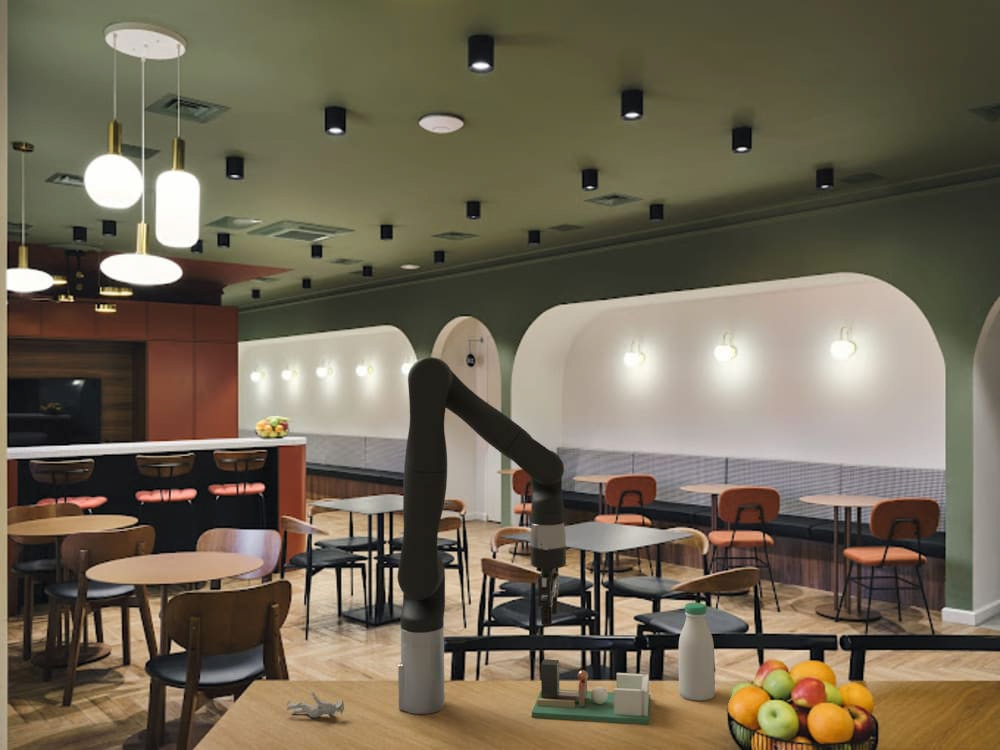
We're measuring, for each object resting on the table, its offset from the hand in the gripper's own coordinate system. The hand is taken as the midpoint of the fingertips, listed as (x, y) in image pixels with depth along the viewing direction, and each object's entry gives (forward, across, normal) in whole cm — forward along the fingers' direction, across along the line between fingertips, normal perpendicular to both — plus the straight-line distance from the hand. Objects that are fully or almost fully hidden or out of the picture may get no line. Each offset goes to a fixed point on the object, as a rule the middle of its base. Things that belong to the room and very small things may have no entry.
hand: (549, 619), depth 188 cm
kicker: (+17, 0, +3) cm, 18 cm away
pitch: (+19, 0, +9) cm, 21 cm away
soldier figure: (+19, +14, -48) cm, 53 cm away
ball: (+16, 0, +10) cm, 19 cm away
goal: (+18, 0, +17) cm, 25 cm away
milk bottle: (+19, -11, +31) cm, 38 cm away
